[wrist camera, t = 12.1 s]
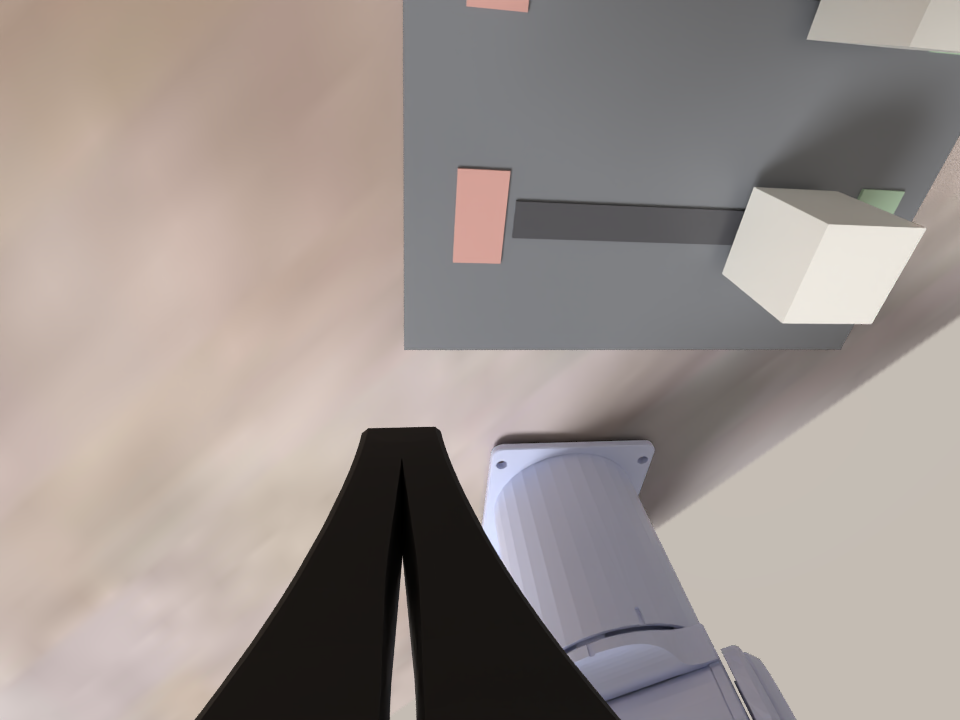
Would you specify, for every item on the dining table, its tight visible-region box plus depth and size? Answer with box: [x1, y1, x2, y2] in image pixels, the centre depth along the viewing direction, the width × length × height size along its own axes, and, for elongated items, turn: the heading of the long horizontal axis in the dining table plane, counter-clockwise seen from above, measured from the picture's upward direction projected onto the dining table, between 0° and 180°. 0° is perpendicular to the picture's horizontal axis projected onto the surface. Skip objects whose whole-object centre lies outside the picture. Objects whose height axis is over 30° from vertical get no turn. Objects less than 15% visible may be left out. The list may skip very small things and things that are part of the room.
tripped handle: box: [722, 187, 927, 324], centre depth 16 cm, size 3×3×4 cm
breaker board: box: [403, 0, 960, 350], centre depth 16 cm, size 16×18×2 cm
